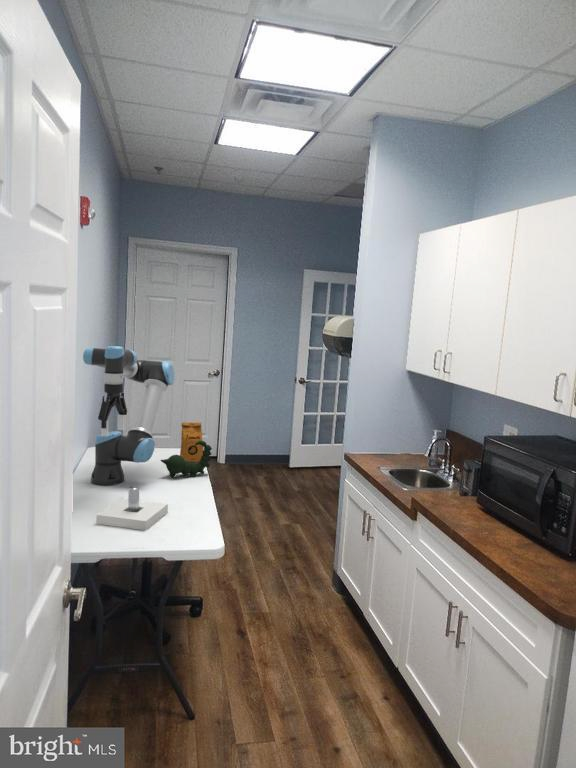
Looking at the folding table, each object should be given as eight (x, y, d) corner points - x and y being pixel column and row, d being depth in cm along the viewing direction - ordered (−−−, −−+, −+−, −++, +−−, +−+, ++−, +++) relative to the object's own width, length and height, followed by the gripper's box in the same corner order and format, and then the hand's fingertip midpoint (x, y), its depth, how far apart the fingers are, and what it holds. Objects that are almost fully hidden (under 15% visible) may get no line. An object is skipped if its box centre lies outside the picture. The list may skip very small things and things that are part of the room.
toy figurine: (204, 475, 282) (156, 474, 271) (209, 439, 281) (161, 437, 269) (210, 480, 274) (160, 479, 262) (214, 443, 272) (165, 441, 261)
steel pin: (131, 515, 216) (131, 486, 214) (140, 516, 215) (141, 487, 213) (126, 518, 212) (126, 489, 210) (135, 520, 211) (136, 490, 210)
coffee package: (203, 463, 297) (204, 424, 295) (180, 463, 294) (181, 423, 292) (202, 459, 307) (203, 420, 304) (179, 459, 304) (180, 420, 301)
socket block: (122, 506, 225) (122, 498, 224) (167, 512, 221) (167, 503, 221) (96, 523, 205) (96, 514, 205) (145, 530, 202) (146, 521, 201)
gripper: (106, 387, 216) (105, 439, 218) (135, 380, 240) (134, 428, 242) (89, 385, 217) (88, 437, 219) (120, 379, 241) (119, 426, 244)
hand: (112, 432), depth 231 cm, fingers open, 13 cm apart
